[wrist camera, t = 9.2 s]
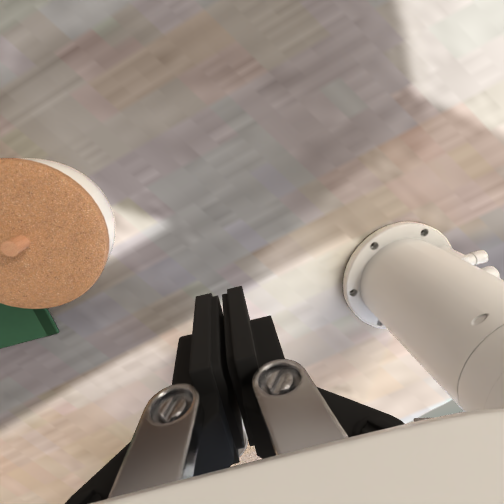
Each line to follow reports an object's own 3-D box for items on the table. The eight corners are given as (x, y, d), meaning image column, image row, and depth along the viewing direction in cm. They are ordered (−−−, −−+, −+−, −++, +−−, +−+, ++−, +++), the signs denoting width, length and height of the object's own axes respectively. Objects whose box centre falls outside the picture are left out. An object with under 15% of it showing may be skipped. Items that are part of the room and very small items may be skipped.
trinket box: (-31, 196, 28) (-137, 226, 19) (71, 125, 27) (9, 123, 18) (61, 288, 32) (9, 348, 23) (152, 229, 31) (134, 268, 22)
